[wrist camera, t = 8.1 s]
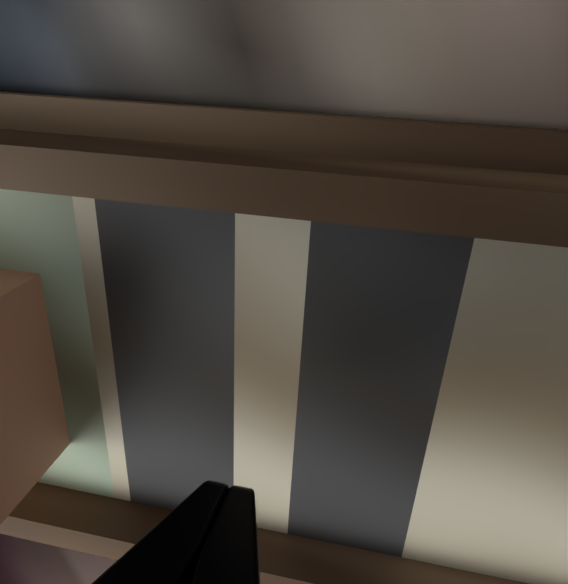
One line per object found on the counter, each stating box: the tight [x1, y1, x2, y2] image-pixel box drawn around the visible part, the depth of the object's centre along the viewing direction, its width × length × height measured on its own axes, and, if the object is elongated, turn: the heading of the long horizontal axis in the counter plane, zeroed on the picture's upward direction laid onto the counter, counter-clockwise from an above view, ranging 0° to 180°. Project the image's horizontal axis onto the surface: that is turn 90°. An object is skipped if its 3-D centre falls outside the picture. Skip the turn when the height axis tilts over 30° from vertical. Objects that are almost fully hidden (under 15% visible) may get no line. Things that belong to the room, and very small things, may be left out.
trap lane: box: [0, 92, 568, 584], centre depth 11 cm, size 12×22×2 cm, turn 87°
